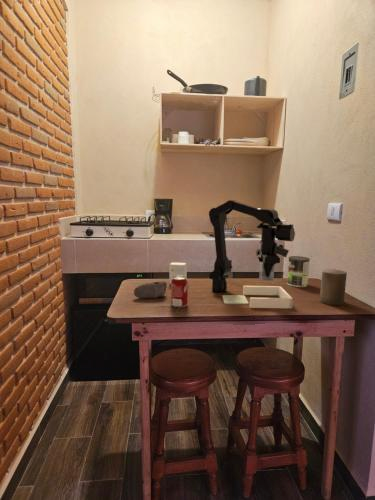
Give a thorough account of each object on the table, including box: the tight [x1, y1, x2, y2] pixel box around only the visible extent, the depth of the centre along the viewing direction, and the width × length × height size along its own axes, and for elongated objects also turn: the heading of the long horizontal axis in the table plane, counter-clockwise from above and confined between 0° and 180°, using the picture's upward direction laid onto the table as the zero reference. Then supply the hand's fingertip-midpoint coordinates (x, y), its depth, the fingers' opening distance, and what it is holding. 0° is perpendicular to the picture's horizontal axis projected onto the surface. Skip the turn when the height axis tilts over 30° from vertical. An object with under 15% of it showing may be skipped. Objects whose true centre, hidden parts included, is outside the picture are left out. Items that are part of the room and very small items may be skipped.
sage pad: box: [222, 294, 249, 305], centre depth 137 cm, size 10×10×1 cm
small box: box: [168, 261, 188, 285], centre depth 162 cm, size 8×6×10 cm
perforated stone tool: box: [133, 281, 168, 299], centre depth 139 cm, size 15×5×7 cm, turn 105°
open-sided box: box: [242, 285, 294, 309], centre depth 137 cm, size 17×18×4 cm
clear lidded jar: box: [286, 255, 311, 288], centre depth 162 cm, size 10×10×14 cm
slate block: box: [258, 262, 275, 282], centre depth 135 cm, size 5×5×7 cm
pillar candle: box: [319, 268, 348, 306], centre depth 135 cm, size 10×10×15 cm
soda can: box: [170, 276, 189, 309], centre depth 128 cm, size 7×7×12 cm
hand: (266, 275), depth 135 cm, fingers closed on slate block, 5 cm apart
